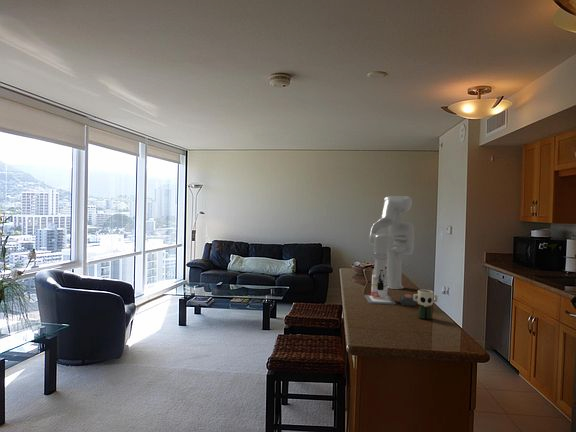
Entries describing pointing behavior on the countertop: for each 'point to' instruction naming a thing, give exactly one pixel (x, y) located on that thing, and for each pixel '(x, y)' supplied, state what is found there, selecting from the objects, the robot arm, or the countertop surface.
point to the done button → (407, 296)
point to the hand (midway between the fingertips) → (379, 288)
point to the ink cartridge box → (374, 290)
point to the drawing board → (379, 300)
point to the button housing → (407, 301)
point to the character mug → (425, 303)
